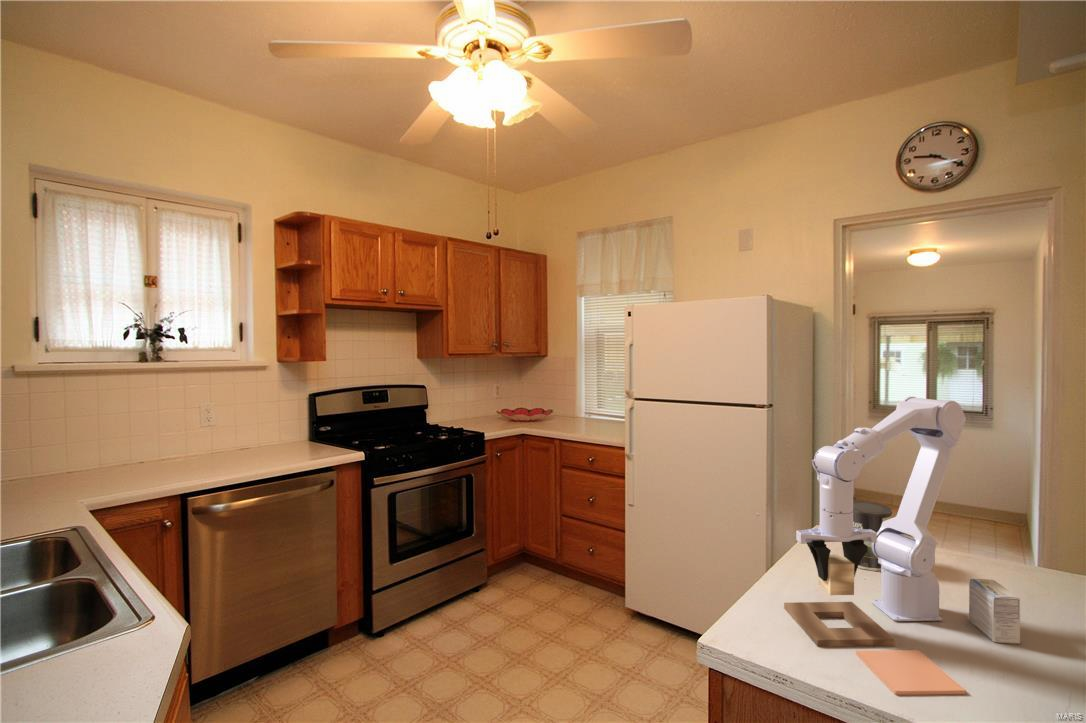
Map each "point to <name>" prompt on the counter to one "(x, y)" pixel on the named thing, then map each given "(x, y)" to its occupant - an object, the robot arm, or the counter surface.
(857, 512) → the coffee can
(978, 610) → the medicine box
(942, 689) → the tile
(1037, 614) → the counter surface
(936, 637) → the counter surface
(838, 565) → the birch block
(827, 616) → the pocket plate
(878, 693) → the counter surface
